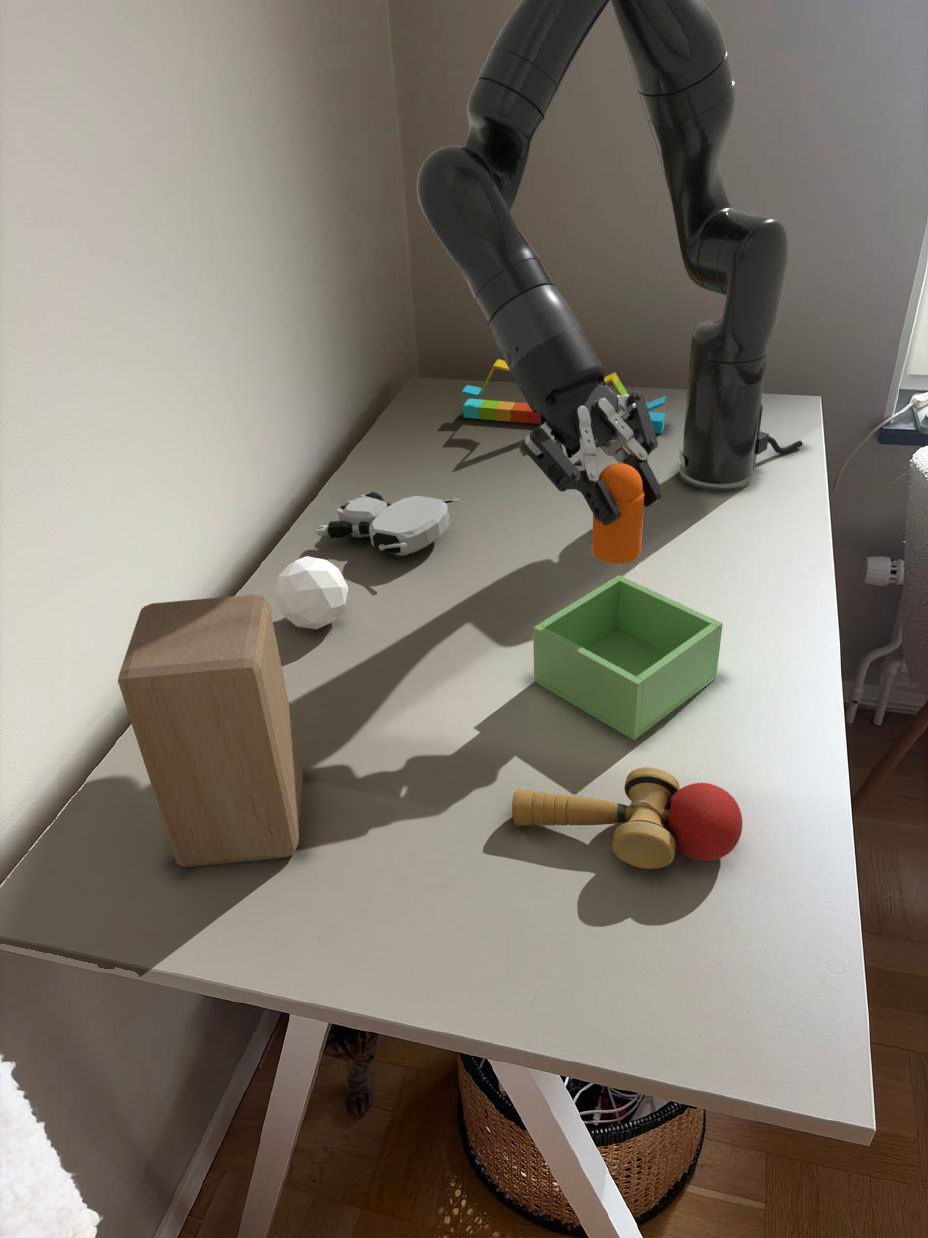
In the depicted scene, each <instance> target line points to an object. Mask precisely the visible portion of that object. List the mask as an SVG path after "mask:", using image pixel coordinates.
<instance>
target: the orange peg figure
mask: <svg viewBox="0 0 928 1238" xmlns="http://www.w3.org/2000/svg"><path fill="white" fill-rule="evenodd" d="M602 479H603V481H604V482H605V484H606V486H607V488H608V490H609V492H610V493H611V495H612V497H613V499H614V501H615V503H616V505H617V506H618V508H619V510H620V512H621V517H620V518H619V519H617V520H616V521H614V522H613V523H611V524H609V525H606V526H605V525H603V524H602V522H601V521H600V522H599V521H598V520H597V519H596V518H595V517H594V515H593V514H592V535H591V536H592V538H591V539H592V541H591V552H592V555H593V557H594V558H596V559H597V560H598V561H601V562H602V563H605V564H613V565H623V564H629V563H632V562H634V561H636V560H638V558H640V556H641V554H642V541H643V526H644V525H643V524H644V511H645V509H644V508H645V507H644V490H643V484H642V479H641V476H640V474H639V473H638V472H637V471H636V470H635V469H634V468H633V467H632V466H630V465H627V464H623V463H619V462H618V463H612V464H610V465H608V466H606V467H605V468H604V469H602V471H601V472H600V473H599V479H598V481H600V480H602Z"/></svg>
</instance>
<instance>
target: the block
mask: <svg viewBox="0 0 928 1238" xmlns="http://www.w3.org/2000/svg"><path fill="white" fill-rule="evenodd" d="M126 649H127V650H126V652H125V655H124V659H123V660H122V661H123V662H122V664H121V668H120V671H119V673H118V679H117V684H118V686H119V689H120V692H121V695H122V699H123V702H124V704H125V705H124V706H125V708H126V710H127V715H128V717H129V720H130V724H131V726H132V730H133V733H134V735H135V738H136V742H137V745H138V748H139V751H140V754H141V758H142V761H143V763H144V767H145V769H146V773H147V776H148V778H149V782H150V785H151V788H152V791H153V794H154V797H155V801H156V804H157V807H158V810H159V813H160V816H161V820H162V821H163V825H164V829H165V832H166V835H167V838H168V840H169V844H170V847H171V849H172V853H173V856H174V859H175V862H176V863H177V864H178V865H179V866H180V867H185V868H192V867H201V866H202V867H204V866H212V865H213V866H214V865H222V864H234V863H242V862H243V863H244V862H252V861H261V860H262V861H264V860H272V859H282V858H283V859H285V858H288V857H291V856H293V855H295V853H296V851H297V847H298V846H299V839H300V838H299V837H300V824H301V811H302V796H303V785H304V784H303V783H304V772H303V767H302V761H301V757H300V752H299V746H298V741H297V737H296V736H297V735H296V732H295V728H294V727H295V726H294V721H293V715H292V712H291V706H290V701H289V697H288V691H287V686H286V682H285V677H284V672H283V666H282V662H281V657H280V652H279V645H278V641H277V636H276V632H275V626H274V621H273V616H272V610H271V607H270V604H269V602H268V601H267V600H266V598H265V596H264V595H261V594H257V593H252V594H243V595H231V596H220V597H209V598H198V599H185V600H175V601H163V602H153V603H150V604H149V603H148V604H147V605H144V606H143V607H142V608H141V609H140V611H139V614H138V617H137V620H136V623H135V625H134V629H133V632H132V634H131V638H130V641H129V643H128V647H127V648H126Z"/></svg>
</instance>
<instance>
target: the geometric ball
mask: <svg viewBox="0 0 928 1238" xmlns="http://www.w3.org/2000/svg"><path fill="white" fill-rule="evenodd" d="M348 592H349V586H348V584H347V582H346V580H345V578H344V576H343V574H342V572H341V570H340V568H338V567H337V566H336V565H334V564H333V563H331V562H330V561H329V560H327V559H323V558H318V557H313V556H308V555H306V556H304V557H301V558H299V559H296V560H295V561H293V562H291V563H290V564H288V565H287V566H286V568H284V569H283V570H282V571H281V572H280V573H279V575H278V576H277V579H276V585H275V591H274V597H273V599H274V600H275V603H276V605H277V608H278V609H279V612H280V613H281V614H282V616H284V618H285V619H287V620H288V621H289V622H291V624H293V625H294V626H295V627H298V628H304V629H311V630H318V629H321V628H322V627H325V626H327V625H329V624H331V623H333V622H335V621H336V620H337V619H338V617H339V616H340V614H342V612H343V611H344V610H345V608H346V603H347V598H348Z"/></svg>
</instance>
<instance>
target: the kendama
mask: <svg viewBox="0 0 928 1238" xmlns="http://www.w3.org/2000/svg"><path fill="white" fill-rule="evenodd" d="M623 788H624V794H625V795H626V797H627V798H628V800H629V801H631V803H630V805H627V804H624V803H623V804H622V803H618V802H613V801H608V800H603V799H598V798H597V799H596V798H591V797H584V796H576V795H568V794H557V793H551V792H550V793H549V792H548V793H547V792H541V791H535V790H528V789H521V788H516V789H515V792H514V793H513V796H512V802H511V810H512V811H511V815H512V820H513V823H514V825H515V826H517V827H525V826H534V825H535V826H601V825H602V826H603V825H614V824H616V825H617V824H620V825H619V826H617V827H616V829H615V830H614V832H613V833H614V834H613V839H612V850H613V853H614V854H615V855H616V857H617V858H618V859H619V860H621V861H622V862H624V863H626V864H628V865H630V866H632V867H636V868H640V869H645V870H657V869H661V868H665V867H667V866H669V865H670V864H672V862H673V861H674V859H675V854H676V850H677V851H678V852H679V853H680V854H682V855H683V856H685V857H686V858H689V859H691V860H695V861H701V862H712V861H716V860H719V859H722V858H724V857H726V856H727V855H728V854H730V853H732V851H733V850H734V849H735V847H736V846H737V845H738V843H739V841H740V839H741V835H742V832H743V831H742V830H743V816H742V811H741V808H740V806H739V804H738V802H737V801H736V799H735V798H734V796H732V795H731V794H730V793H729V792H728V791H727V790H725V789H724V788H722V787H720V786H717V785H715V784H713V783H708V782H696V783H691V784H688V785H686V786H683V787H682V788H681V787H680V784H679V781H678V779H677V778H676V777H675V776H674V775H673V774H671V773H670V772H668V771H666V770H663V769H660V768H657V767H649V766H648V767H638V768H636V769H633V770H632V771H631V772H629V773H628V774H627V776H626V778H625V783H624V787H623Z"/></svg>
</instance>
